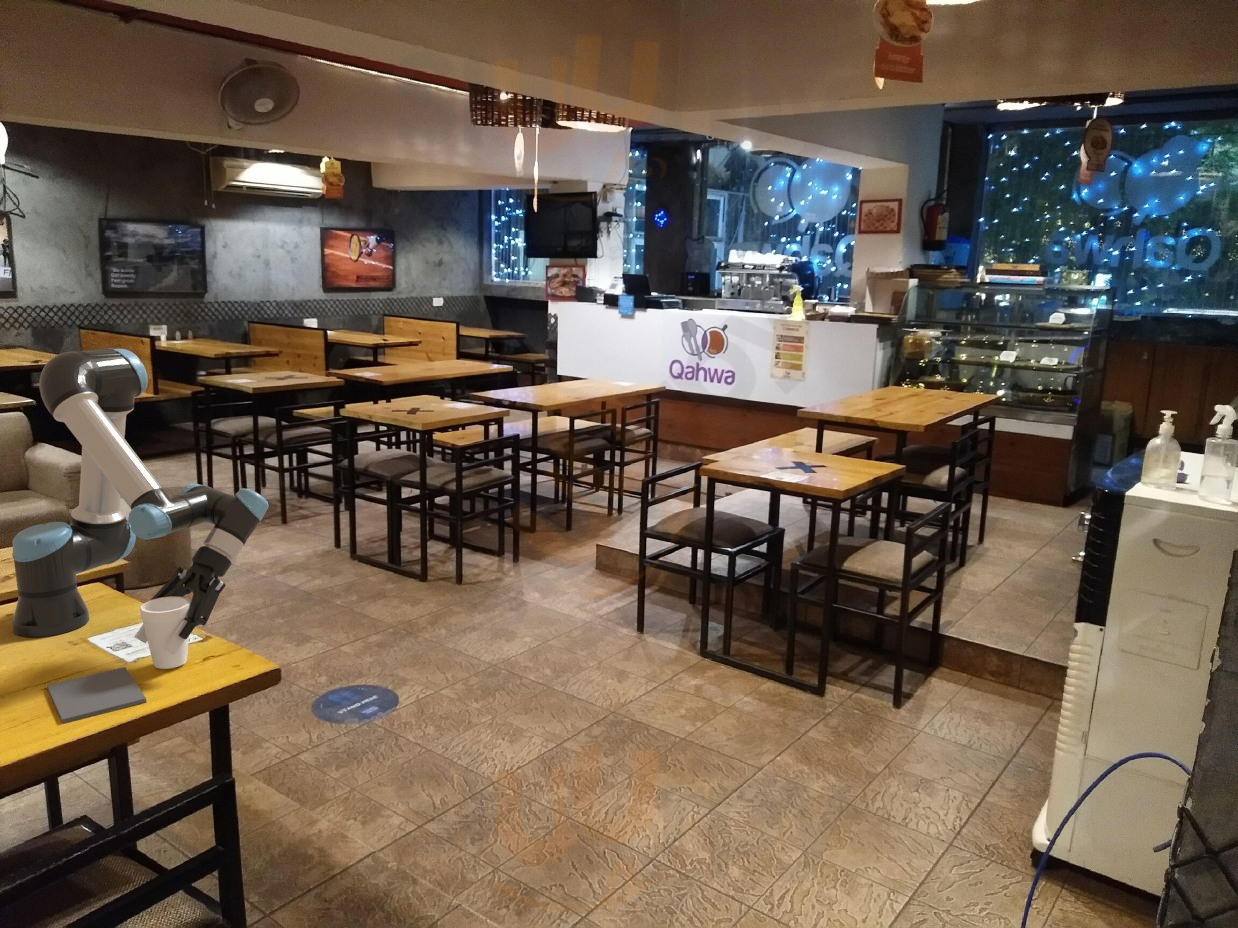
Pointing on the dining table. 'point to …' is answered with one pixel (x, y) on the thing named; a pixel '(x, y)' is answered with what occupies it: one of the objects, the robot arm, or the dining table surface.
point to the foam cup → (165, 629)
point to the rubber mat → (95, 694)
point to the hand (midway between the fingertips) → (154, 645)
